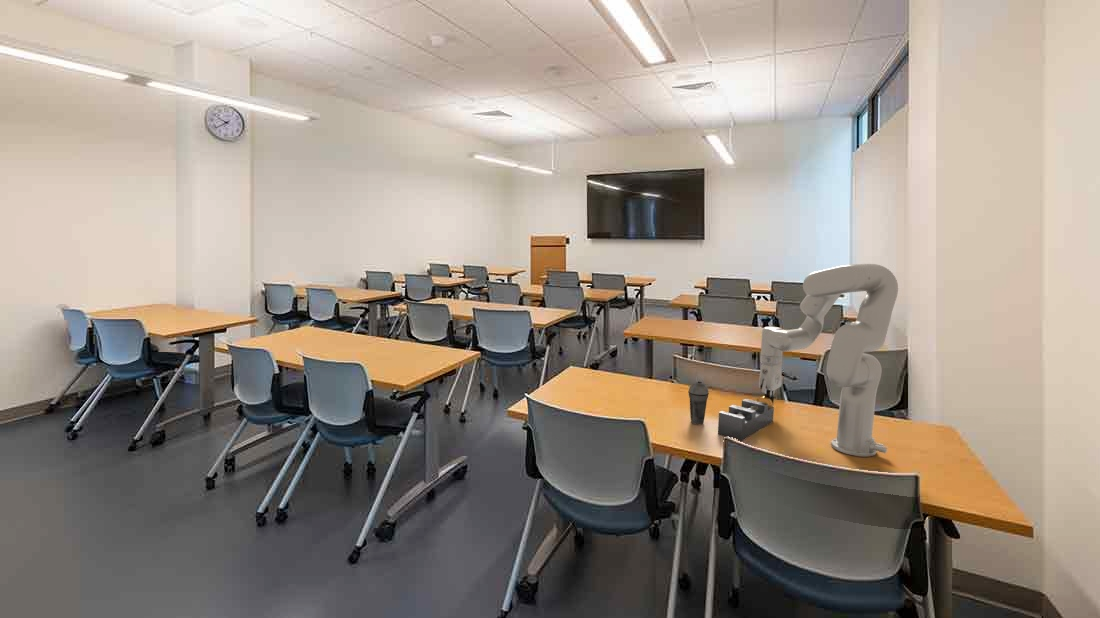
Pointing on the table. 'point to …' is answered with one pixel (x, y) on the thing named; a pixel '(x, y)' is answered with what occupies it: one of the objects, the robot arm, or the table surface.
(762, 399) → the shaft
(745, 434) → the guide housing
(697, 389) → the beverage cup
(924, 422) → the table surface
